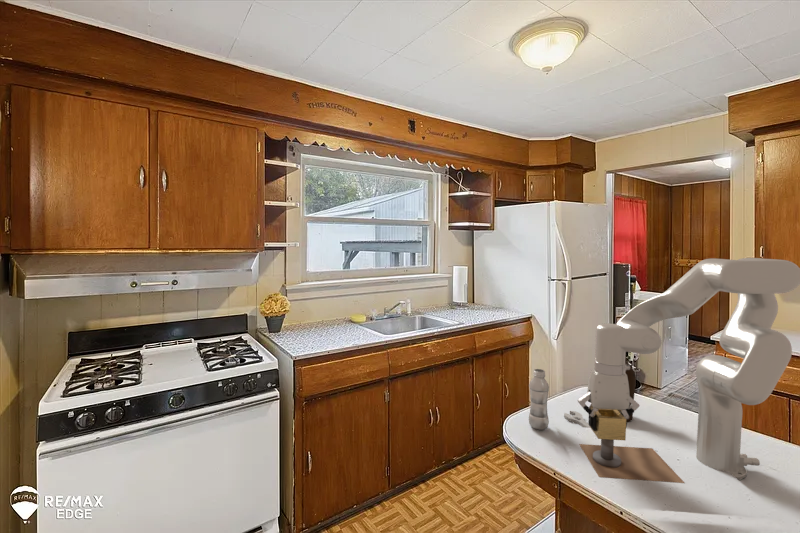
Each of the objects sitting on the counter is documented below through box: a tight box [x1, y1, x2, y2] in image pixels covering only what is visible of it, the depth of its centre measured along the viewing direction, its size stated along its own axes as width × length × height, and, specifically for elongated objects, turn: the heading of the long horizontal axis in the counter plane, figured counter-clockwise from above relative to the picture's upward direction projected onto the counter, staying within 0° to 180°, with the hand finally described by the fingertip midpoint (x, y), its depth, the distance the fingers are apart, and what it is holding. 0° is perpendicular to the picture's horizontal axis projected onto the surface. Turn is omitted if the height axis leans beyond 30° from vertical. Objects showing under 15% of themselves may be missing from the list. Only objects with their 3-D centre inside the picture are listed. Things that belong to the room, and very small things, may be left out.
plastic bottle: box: [528, 368, 550, 431], centre depth 135 cm, size 6×7×20 cm
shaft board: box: [578, 439, 685, 484], centre depth 112 cm, size 21×17×11 cm
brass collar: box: [589, 409, 627, 441], centre depth 112 cm, size 7×7×6 cm
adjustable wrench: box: [563, 410, 591, 429], centre depth 133 cm, size 25×6×2 cm, turn 6°
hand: (607, 429), depth 112 cm, fingers closed on brass collar, 7 cm apart
